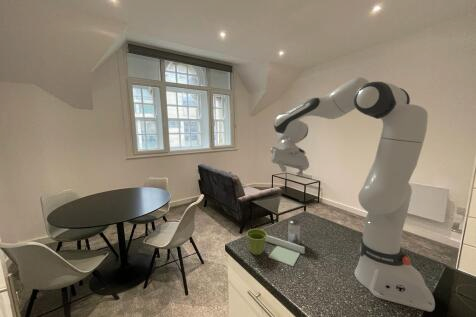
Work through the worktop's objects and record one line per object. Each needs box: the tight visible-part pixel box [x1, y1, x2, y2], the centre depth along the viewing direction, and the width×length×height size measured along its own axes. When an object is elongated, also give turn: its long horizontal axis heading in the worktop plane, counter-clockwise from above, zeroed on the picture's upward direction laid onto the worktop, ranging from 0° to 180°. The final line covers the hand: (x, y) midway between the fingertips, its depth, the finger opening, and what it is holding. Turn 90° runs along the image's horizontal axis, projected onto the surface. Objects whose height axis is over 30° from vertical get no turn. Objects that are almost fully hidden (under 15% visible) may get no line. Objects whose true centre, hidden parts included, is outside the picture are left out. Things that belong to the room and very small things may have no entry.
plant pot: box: [246, 228, 268, 256], centre depth 90 cm, size 9×9×9 cm
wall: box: [265, 234, 306, 255], centre depth 94 cm, size 20×1×3 cm, turn 57°
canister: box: [287, 218, 301, 245], centre depth 97 cm, size 6×6×11 cm
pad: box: [268, 245, 301, 267], centre depth 87 cm, size 11×10×1 cm
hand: (292, 172), depth 94 cm, fingers open, 8 cm apart
